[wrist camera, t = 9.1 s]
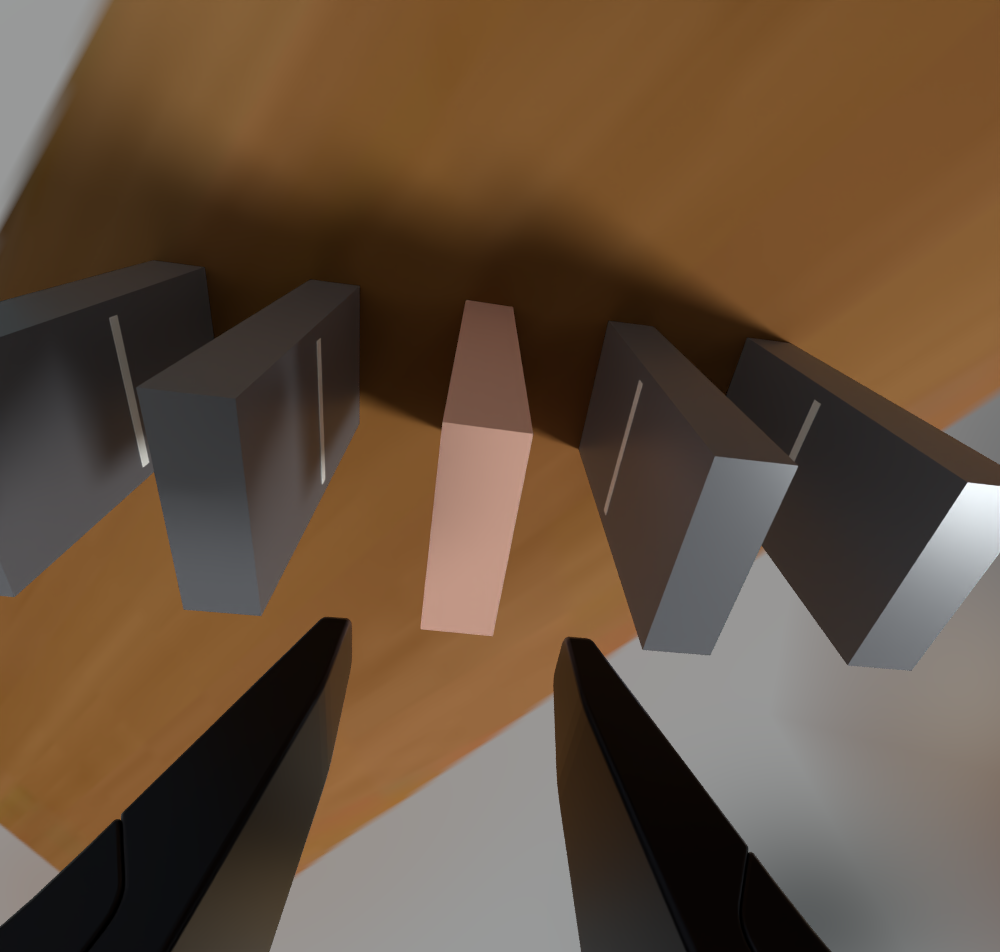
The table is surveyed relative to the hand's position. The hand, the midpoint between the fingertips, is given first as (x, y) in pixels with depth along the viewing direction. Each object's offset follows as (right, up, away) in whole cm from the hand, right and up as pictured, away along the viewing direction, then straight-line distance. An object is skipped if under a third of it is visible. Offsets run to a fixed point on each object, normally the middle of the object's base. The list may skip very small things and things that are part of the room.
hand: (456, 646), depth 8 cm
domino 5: (+10, +5, +12) cm, 16 cm away
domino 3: (0, +6, +11) cm, 13 cm away
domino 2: (-5, +7, +11) cm, 14 cm away
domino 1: (-10, +7, +10) cm, 16 cm away
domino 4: (+5, +6, +11) cm, 14 cm away
